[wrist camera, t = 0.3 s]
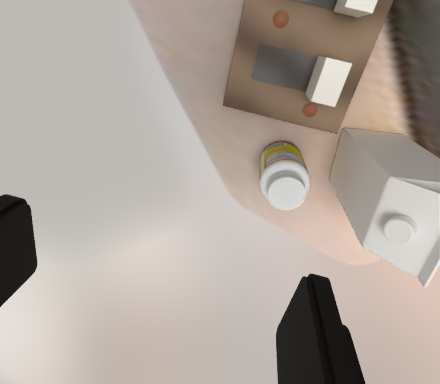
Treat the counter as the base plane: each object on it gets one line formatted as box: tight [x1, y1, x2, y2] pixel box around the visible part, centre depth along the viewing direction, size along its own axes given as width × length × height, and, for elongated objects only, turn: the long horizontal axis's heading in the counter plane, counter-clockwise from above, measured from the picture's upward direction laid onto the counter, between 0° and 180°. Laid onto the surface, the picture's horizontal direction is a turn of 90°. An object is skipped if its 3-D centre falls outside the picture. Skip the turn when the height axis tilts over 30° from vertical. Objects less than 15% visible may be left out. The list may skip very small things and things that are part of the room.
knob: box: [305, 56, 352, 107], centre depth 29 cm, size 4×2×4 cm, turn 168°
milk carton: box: [329, 128, 440, 287], centre depth 29 cm, size 7×7×19 cm
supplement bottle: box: [260, 141, 310, 211], centre depth 34 cm, size 6×6×10 cm
